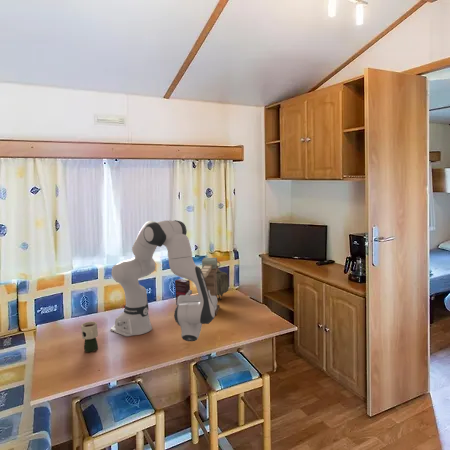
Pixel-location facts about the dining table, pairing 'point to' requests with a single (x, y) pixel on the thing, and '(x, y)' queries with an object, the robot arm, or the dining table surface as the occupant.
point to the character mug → (89, 336)
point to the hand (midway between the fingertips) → (199, 290)
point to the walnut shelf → (212, 284)
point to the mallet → (208, 265)
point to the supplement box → (181, 287)
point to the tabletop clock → (221, 282)
